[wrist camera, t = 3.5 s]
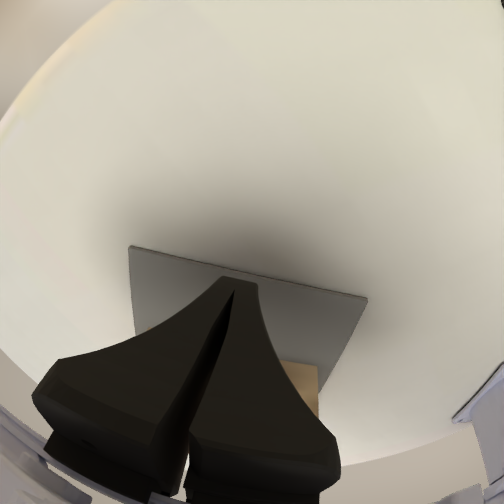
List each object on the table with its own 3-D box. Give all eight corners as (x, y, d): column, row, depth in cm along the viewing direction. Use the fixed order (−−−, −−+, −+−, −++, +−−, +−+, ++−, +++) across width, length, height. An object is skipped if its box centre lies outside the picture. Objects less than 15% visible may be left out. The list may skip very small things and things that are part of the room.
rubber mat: (367, 298, 13) (367, 301, 13) (272, 458, 22) (271, 460, 22) (130, 245, 13) (128, 247, 13) (155, 430, 23) (154, 432, 23)
